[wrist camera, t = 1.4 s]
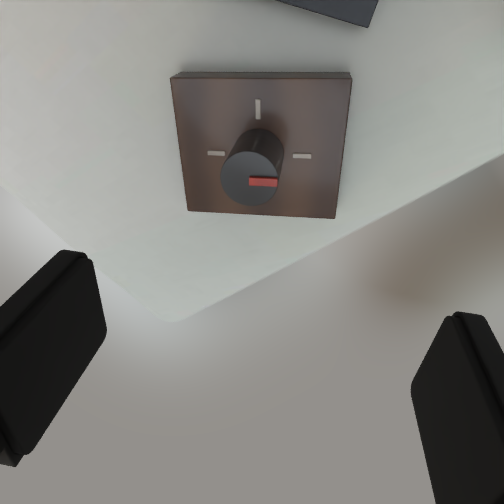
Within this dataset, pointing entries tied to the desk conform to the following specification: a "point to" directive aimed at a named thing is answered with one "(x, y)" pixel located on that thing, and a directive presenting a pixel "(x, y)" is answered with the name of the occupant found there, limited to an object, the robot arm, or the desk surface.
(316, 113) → the dimmer panel
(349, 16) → the switch box
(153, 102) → the desk surface
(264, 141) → the dimmer knob
